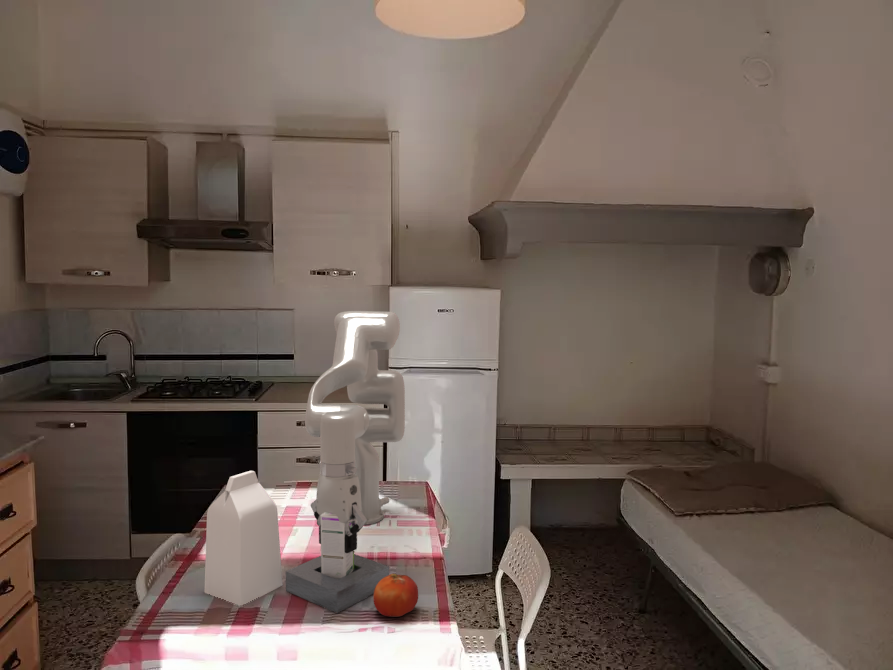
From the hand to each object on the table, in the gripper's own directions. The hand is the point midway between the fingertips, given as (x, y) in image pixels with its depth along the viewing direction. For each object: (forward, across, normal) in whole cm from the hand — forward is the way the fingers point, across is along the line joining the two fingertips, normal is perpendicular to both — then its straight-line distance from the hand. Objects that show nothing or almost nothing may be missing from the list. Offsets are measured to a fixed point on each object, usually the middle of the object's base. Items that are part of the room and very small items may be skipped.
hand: (337, 545), depth 152 cm
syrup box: (+7, 0, 0) cm, 7 cm away
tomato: (+10, -17, 0) cm, 20 cm away
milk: (+10, +16, +13) cm, 23 cm away
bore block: (+10, 0, 0) cm, 10 cm away
